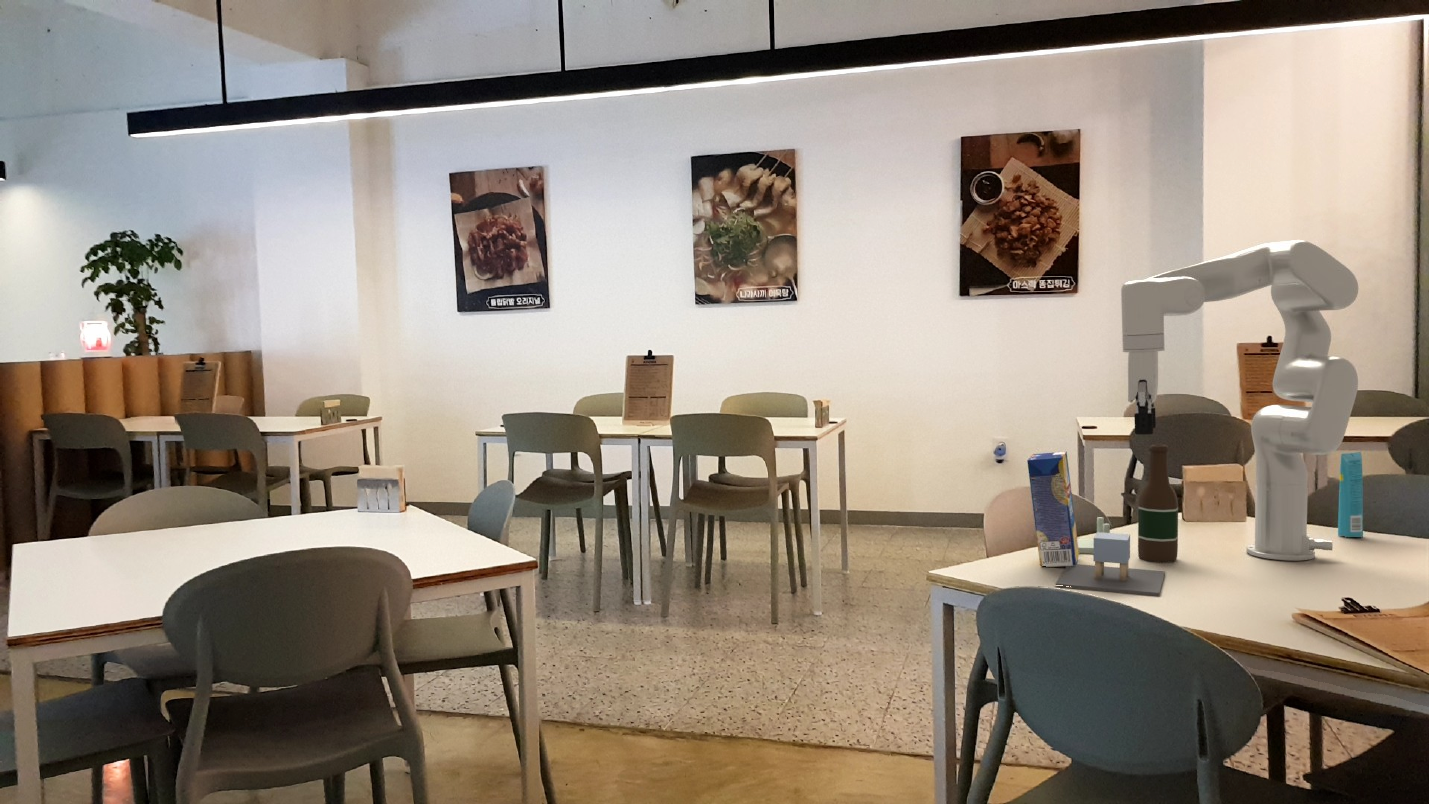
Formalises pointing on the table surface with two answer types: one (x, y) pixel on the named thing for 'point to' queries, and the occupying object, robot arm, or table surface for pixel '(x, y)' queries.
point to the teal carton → (1351, 496)
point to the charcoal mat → (1112, 580)
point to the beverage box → (1053, 509)
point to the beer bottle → (1158, 512)
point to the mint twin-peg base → (1088, 544)
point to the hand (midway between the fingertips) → (1145, 430)
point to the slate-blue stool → (1111, 552)
